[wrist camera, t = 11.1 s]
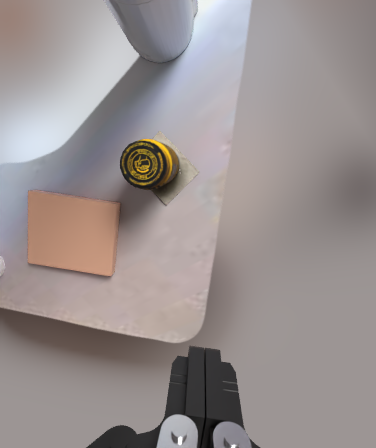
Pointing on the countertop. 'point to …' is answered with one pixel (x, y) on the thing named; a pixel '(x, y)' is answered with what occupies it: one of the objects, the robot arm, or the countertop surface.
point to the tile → (72, 232)
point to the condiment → (156, 167)
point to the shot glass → (2, 266)
